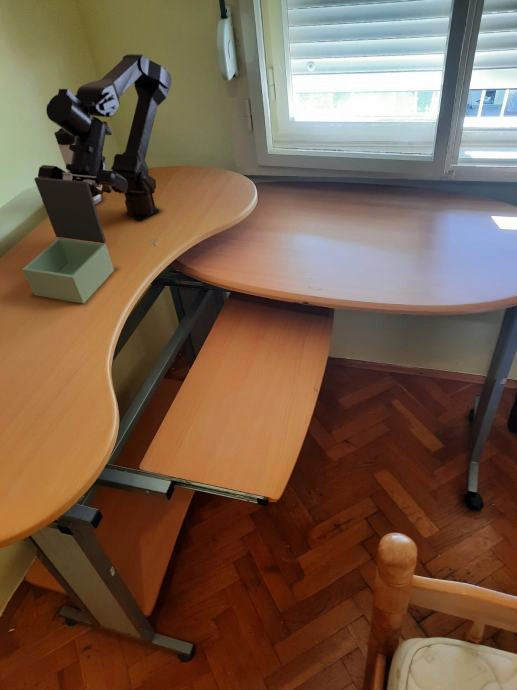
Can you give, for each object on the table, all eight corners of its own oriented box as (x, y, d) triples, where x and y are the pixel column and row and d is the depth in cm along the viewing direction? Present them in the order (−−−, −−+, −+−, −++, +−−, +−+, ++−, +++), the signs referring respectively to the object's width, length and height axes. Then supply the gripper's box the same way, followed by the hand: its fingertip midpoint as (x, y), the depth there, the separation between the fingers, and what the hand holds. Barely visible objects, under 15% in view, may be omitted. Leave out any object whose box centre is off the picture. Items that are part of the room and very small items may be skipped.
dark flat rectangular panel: (85, 183, 90) (88, 181, 91) (33, 178, 94) (36, 177, 94) (104, 243, 99) (106, 241, 100) (56, 237, 102) (58, 235, 103)
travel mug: (96, 207, 127) (71, 131, 113) (75, 206, 128) (47, 131, 114) (106, 196, 132) (83, 122, 118) (85, 195, 133) (60, 122, 119)
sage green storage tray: (83, 303, 96) (72, 277, 91) (34, 295, 99) (21, 269, 95) (114, 270, 104) (105, 244, 100) (68, 263, 108) (57, 237, 103)
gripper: (146, 165, 104) (134, 233, 104) (75, 159, 109) (64, 224, 109) (119, 142, 93) (105, 218, 93) (42, 137, 98) (29, 209, 98)
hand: (76, 218), depth 99 cm, fingers closed, pressing on dark flat rectangular panel
